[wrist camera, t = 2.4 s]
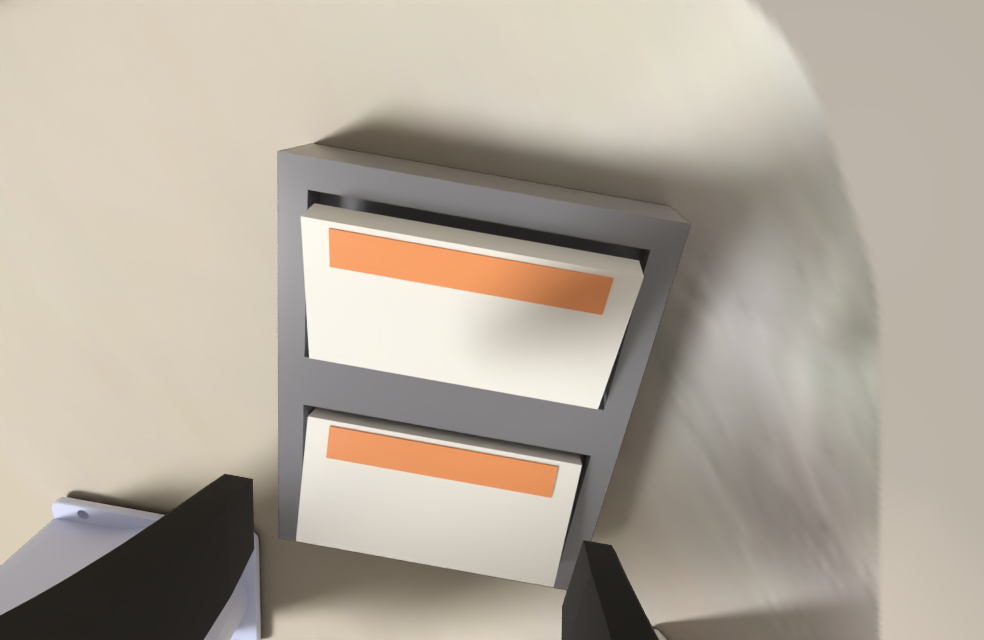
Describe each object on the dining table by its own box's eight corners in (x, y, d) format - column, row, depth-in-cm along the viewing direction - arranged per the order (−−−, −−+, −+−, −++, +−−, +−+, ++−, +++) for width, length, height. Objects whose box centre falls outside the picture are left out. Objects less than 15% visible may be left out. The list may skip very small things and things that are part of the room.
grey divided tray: (304, 493, 24) (278, 538, 21) (312, 143, 18) (277, 150, 15) (570, 540, 23) (574, 591, 21) (669, 205, 17) (690, 223, 15)
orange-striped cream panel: (306, 524, 20) (295, 542, 19) (318, 405, 19) (307, 417, 18) (551, 568, 20) (553, 588, 19) (578, 451, 19) (582, 466, 18)
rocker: (320, 340, 18) (308, 359, 17) (314, 203, 15) (299, 217, 15) (595, 389, 18) (597, 410, 17) (638, 260, 15) (644, 278, 15)
